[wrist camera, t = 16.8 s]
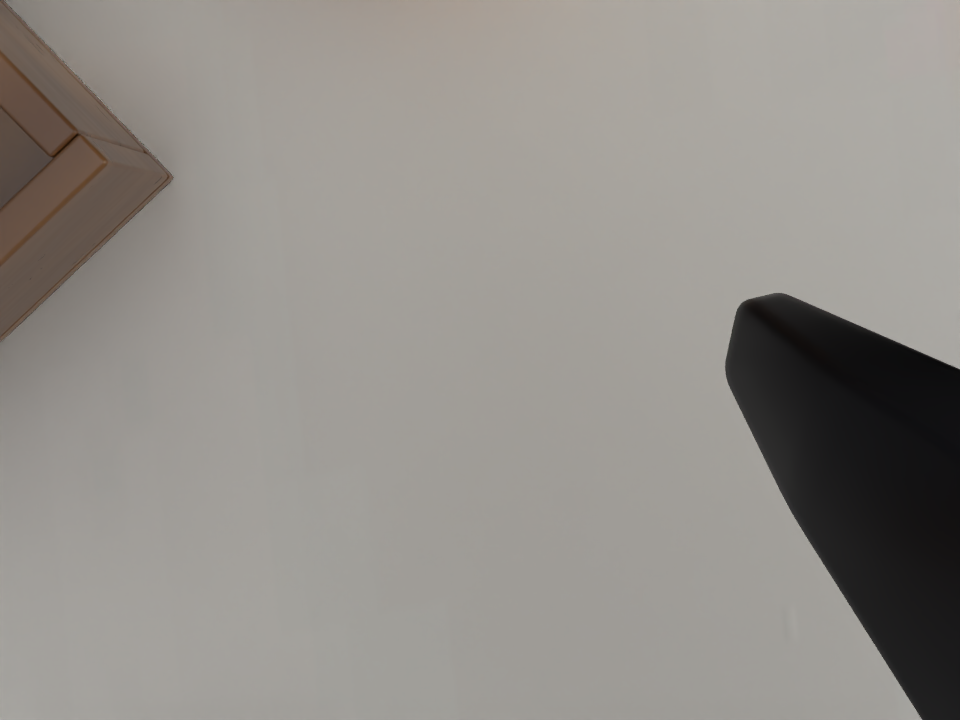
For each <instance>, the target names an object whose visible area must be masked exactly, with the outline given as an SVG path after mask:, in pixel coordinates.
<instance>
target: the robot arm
mask: <svg viewBox="0 0 960 720" xmlns="http://www.w3.org/2000/svg"><path fill="white" fill-rule="evenodd" d="M725 371H726V377H727V381H728V384H729V386H730V389H731V391H732V393H733V395H734V397H735V399H736V401H737V403H738V405H739V407H740V409H741V411H742V413H743V415H744V418H745V420H746V422H747V424H748V426H749V428H750V430H751V432H752V434H753V436H754V438H755V440H756V442H757V444H758V446H759V448H760V450H761V452H762V454H763V456H764V459H765V461H766V463H767V465H768V467H769V469H770V471H771V473H772V475H773V477H774V479H775V481H776V483H777V485H778V487H779V489H780V491H781V493H782V495H783V497H784V499H785V501H786V503H787V505H788V506H789V508H790V510H791V512H792V514H793V515H794V517H795V519H796V520H797V522H798V524H799V525H800V527H801V529H802V530H803V532H804V534H805V535H806V537H807V538H808V540H809V542H810V543H811V545H812V546H813V548H814V549H815V551H816V553H817V554H818V556H819V557H820V559H821V560H822V562H823V564H824V565H825V567H826V568H827V570H828V572H829V573H830V575H831V576H832V578H833V579H834V581H835V583H836V584H837V586H838V587H839V589H840V591H841V592H842V594H843V595H844V597H845V598H846V600H847V602H848V603H849V605H850V606H851V608H852V609H853V611H854V613H855V614H856V616H857V617H858V619H859V621H860V622H861V624H862V625H863V627H864V628H865V630H866V632H867V633H868V635H869V636H870V638H871V640H872V641H873V643H874V644H875V646H876V647H877V649H878V651H879V652H880V654H881V655H882V657H883V658H884V660H885V662H886V663H887V665H888V666H889V668H890V670H891V671H892V673H893V674H894V676H895V677H896V679H897V681H898V682H899V684H900V685H901V687H902V689H903V690H904V692H905V693H906V695H907V696H908V698H909V700H910V701H911V703H912V704H913V706H914V707H915V709H916V711H917V712H918V714H919V715H920V717H921V719H922V720H960V369H958V368H955V367H953V366H951V365H948V364H946V363H944V362H942V361H939V360H937V359H935V358H932V357H930V356H928V355H925V354H923V353H921V352H918V351H916V350H914V349H912V348H909V347H907V346H905V345H902V344H900V343H898V342H895V341H893V340H891V339H889V338H886V337H884V336H882V335H879V334H877V333H875V332H872V331H870V330H868V329H866V328H863V327H861V326H859V325H856V324H854V323H852V322H849V321H847V320H845V319H842V318H840V317H838V316H836V315H833V314H831V313H829V312H826V311H824V310H822V309H819V308H817V307H815V306H813V305H810V304H808V303H806V302H803V301H801V300H799V299H796V298H794V297H792V296H789V295H787V294H783V293H774V294H769V295H765V296H761V297H756V298H752V299H748V300H746V301H744V302H742V303H741V305H740V306H739V308H738V309H737V312H736V315H735V320H734V325H733V329H732V334H731V338H730V343H729V348H728V352H727V357H726V363H725Z"/></svg>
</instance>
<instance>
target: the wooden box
mask: <svg viewBox="0 0 960 720" xmlns="http://www.w3.org/2000/svg"><path fill="white" fill-rule="evenodd" d="M173 178H174V177H173V176H172V175H171V173H170V172H169V171H168V170H167V169H166V168H165V167H164V166H163V165H162V164H161V163H160V162H159V161H158V160H157V159H156V158H155V157H154V156H153V155H152V154H151V153H150V152H149V151H148V150H147V149H146V148H145V147H144V145H143V144H142V143H141V142H140V141H139V140H138V139H137V138H136V137H135V136H134V135H133V134H132V133H131V132H130V131H129V130H128V129H127V128H126V127H125V126H124V125H123V124H122V123H121V122H120V121H119V120H118V119H117V117H116V116H115V115H114V114H113V113H112V112H111V111H110V110H109V109H108V108H107V107H106V106H105V105H104V104H103V103H102V102H101V101H100V100H99V99H98V98H97V97H96V96H95V95H94V94H93V93H92V92H91V91H90V89H89V88H88V87H87V86H86V85H85V84H84V83H83V82H82V81H81V80H80V79H79V78H78V77H77V76H76V75H75V74H74V73H73V72H72V71H71V70H70V69H69V68H68V67H67V66H66V65H65V64H64V63H63V61H62V60H61V59H60V58H59V57H58V56H57V55H56V54H55V53H54V52H53V51H52V50H51V49H50V48H49V47H48V46H47V45H46V44H45V43H44V42H43V41H42V40H41V39H40V38H39V37H38V36H37V35H36V33H35V32H34V31H33V30H32V29H31V28H30V27H29V26H28V25H27V24H26V23H25V22H24V21H23V20H22V19H21V18H20V17H19V16H18V15H17V14H16V13H15V12H14V11H13V10H12V9H11V8H10V7H9V6H8V4H7V3H6V2H5V1H4V0H0V342H1V341H2V340H3V339H5V338H6V337H7V336H8V335H9V334H10V333H11V332H12V331H13V330H14V329H15V328H16V327H17V326H18V325H19V324H20V323H21V322H23V321H24V320H25V319H26V318H27V317H28V316H29V315H30V314H31V313H32V312H33V311H34V310H35V309H36V308H37V307H38V306H39V305H40V304H42V303H43V302H44V301H45V300H46V299H47V298H48V297H49V296H50V295H51V294H52V293H53V292H54V291H55V290H56V289H57V288H58V287H60V286H61V285H62V284H63V283H64V282H65V281H66V280H67V279H68V278H69V277H70V276H71V275H72V274H73V273H74V272H75V271H76V270H78V269H79V268H80V267H81V266H82V265H83V264H84V263H85V262H86V261H87V260H88V259H89V258H90V257H91V256H92V255H93V254H94V253H95V252H97V251H98V250H99V249H100V248H101V247H102V246H103V245H104V244H105V243H106V242H107V241H108V240H109V239H110V238H111V237H112V236H113V235H115V234H116V233H117V232H118V231H119V230H120V229H121V228H122V227H123V226H124V225H125V224H126V223H127V222H128V221H129V220H130V219H131V218H132V217H134V216H135V215H136V214H137V213H138V212H139V211H140V210H141V209H142V208H143V207H144V206H145V205H146V204H147V203H148V202H149V201H150V200H152V199H153V198H154V197H155V196H156V195H157V194H158V193H159V192H160V191H161V190H162V189H163V188H164V187H165V186H166V185H167V184H168V183H170V182H171V181H172V180H173Z"/></svg>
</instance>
